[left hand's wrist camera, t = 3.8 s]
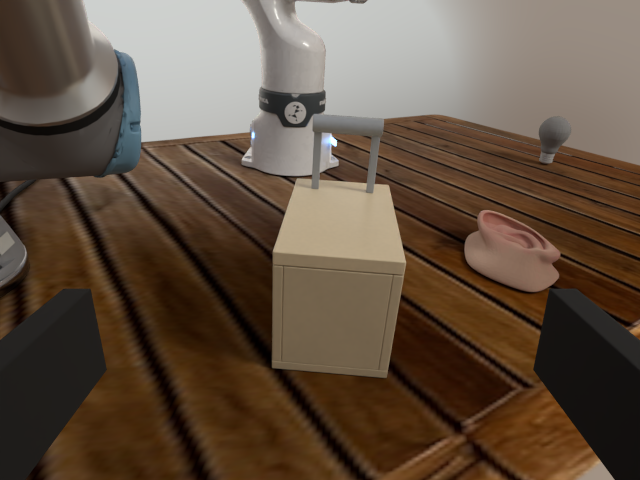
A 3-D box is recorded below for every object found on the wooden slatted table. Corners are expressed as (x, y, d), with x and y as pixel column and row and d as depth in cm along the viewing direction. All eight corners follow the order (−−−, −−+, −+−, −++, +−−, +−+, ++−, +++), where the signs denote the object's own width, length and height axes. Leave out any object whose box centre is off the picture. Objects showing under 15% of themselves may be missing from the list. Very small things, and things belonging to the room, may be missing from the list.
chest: (293, 271, 50) (296, 189, 46) (376, 277, 50) (387, 196, 45) (271, 368, 36) (272, 265, 32) (386, 378, 36) (404, 276, 32)
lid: (296, 188, 46) (299, 107, 42) (387, 194, 46) (398, 114, 42) (272, 265, 32) (273, 154, 28) (404, 275, 31) (422, 165, 28)
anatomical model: (570, 270, 46) (458, 242, 50) (558, 301, 47) (451, 272, 52) (568, 224, 56) (476, 204, 60) (558, 251, 58) (470, 230, 62)
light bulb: (534, 165, 93) (548, 118, 88) (527, 157, 98) (540, 112, 94) (563, 168, 92) (579, 121, 88) (555, 160, 97) (569, 115, 93)
